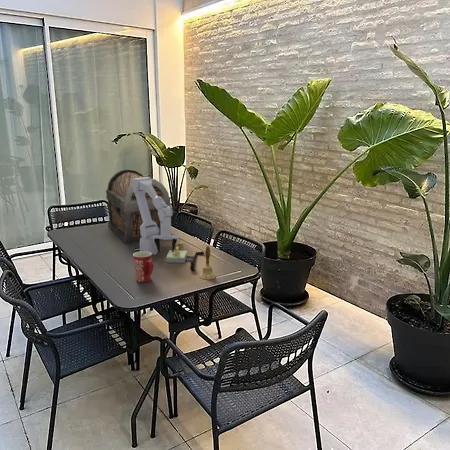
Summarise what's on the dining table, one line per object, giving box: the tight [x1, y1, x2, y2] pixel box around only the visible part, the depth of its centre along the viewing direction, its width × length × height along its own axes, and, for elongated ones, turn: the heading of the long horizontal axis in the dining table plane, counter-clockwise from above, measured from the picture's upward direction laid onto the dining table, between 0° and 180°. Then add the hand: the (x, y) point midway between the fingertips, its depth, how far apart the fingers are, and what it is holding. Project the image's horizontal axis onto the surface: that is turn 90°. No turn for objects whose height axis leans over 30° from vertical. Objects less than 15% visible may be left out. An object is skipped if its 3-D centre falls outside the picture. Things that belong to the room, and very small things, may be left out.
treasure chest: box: [105, 169, 171, 245], centre depth 278 cm, size 45×32×40 cm
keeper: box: [185, 255, 195, 262], centre depth 234 cm, size 4×6×1 cm
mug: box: [132, 250, 154, 283], centre depth 202 cm, size 13×9×14 cm
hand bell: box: [198, 245, 217, 281], centre depth 208 cm, size 8×8×16 cm
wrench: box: [189, 251, 205, 272], centre depth 228 cm, size 5×5×30 cm
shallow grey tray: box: [165, 252, 188, 264], centre depth 234 cm, size 10×12×2 cm
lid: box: [165, 246, 188, 260], centre depth 233 cm, size 10×12×4 cm
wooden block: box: [175, 241, 184, 251], centre depth 243 cm, size 4×4×6 cm
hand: (166, 251), depth 233 cm, fingers open, 7 cm apart
